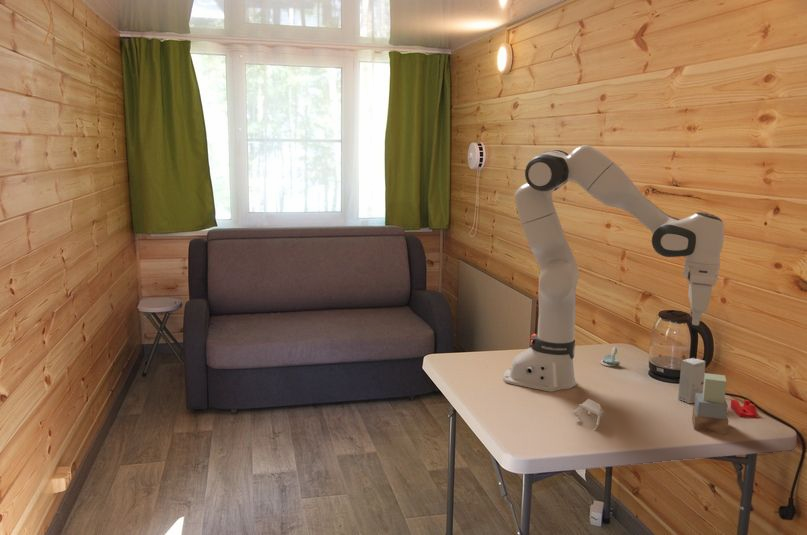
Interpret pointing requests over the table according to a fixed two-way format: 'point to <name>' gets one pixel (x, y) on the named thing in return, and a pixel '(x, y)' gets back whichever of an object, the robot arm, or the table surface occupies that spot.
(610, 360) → the pacifier
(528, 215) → the robot arm
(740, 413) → the red irregular chunk
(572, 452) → the table surface
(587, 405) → the origami figure
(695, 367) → the skincare box
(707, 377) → the sage block
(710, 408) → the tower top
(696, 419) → the tower base
